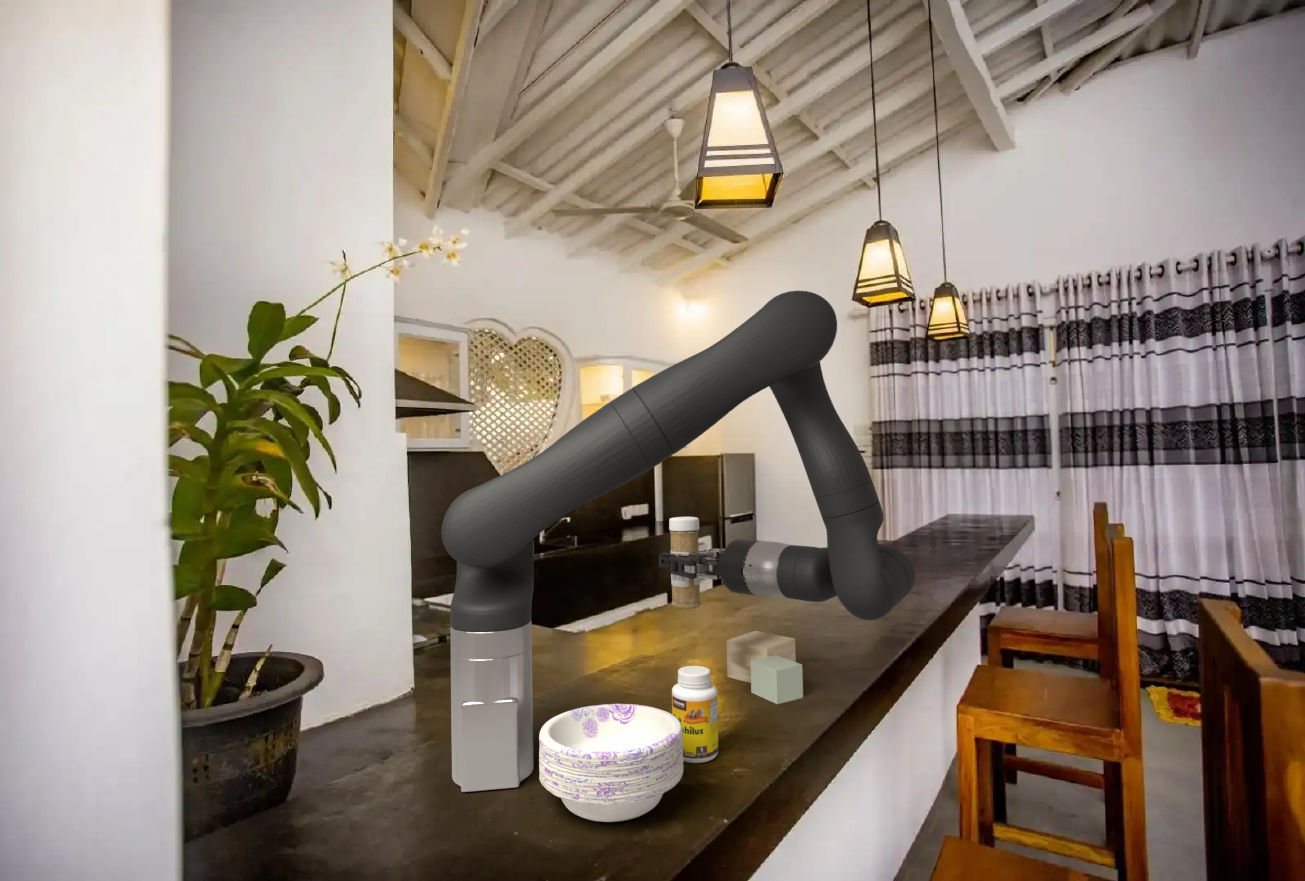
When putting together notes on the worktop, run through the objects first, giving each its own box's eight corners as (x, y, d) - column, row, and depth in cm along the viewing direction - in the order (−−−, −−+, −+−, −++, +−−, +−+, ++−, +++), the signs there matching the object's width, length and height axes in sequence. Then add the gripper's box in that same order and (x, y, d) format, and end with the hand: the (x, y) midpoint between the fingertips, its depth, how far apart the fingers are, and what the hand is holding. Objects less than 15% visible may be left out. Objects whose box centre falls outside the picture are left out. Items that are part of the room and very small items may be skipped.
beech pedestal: (796, 675, 112) (795, 638, 112) (768, 687, 106) (767, 648, 107) (756, 665, 118) (755, 630, 118) (727, 676, 112) (726, 640, 112)
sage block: (802, 664, 102) (775, 654, 107) (776, 670, 99) (750, 660, 105) (803, 698, 102) (776, 687, 107) (777, 705, 99) (751, 693, 104)
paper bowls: (633, 756, 83) (632, 690, 83) (713, 808, 70) (712, 730, 70) (516, 793, 74) (515, 719, 74) (583, 859, 62) (581, 770, 62)
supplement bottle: (664, 759, 82) (662, 673, 82) (685, 742, 87) (683, 661, 87) (706, 769, 79) (704, 680, 79) (726, 750, 84) (724, 666, 84)
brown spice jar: (707, 606, 103) (705, 517, 103) (682, 610, 100) (680, 519, 101) (689, 602, 107) (687, 515, 107) (665, 605, 104) (663, 517, 105)
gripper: (790, 536, 99) (700, 530, 111) (730, 546, 89) (637, 538, 101) (792, 588, 99) (701, 576, 111) (731, 604, 88) (638, 589, 100)
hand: (671, 558), depth 106 cm, fingers closed on brown spice jar, 4 cm apart
